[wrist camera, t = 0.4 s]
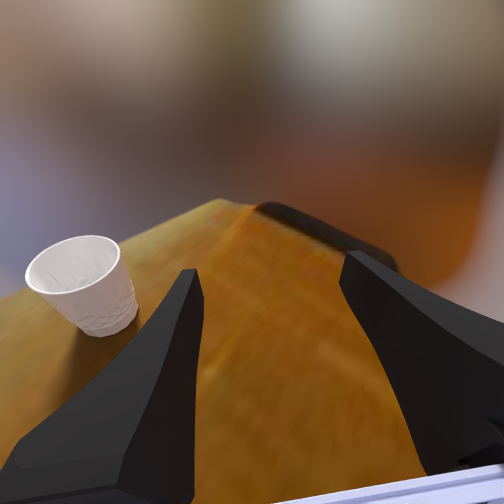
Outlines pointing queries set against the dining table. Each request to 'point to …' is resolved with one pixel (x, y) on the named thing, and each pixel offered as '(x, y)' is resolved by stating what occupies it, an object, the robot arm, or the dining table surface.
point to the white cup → (85, 284)
